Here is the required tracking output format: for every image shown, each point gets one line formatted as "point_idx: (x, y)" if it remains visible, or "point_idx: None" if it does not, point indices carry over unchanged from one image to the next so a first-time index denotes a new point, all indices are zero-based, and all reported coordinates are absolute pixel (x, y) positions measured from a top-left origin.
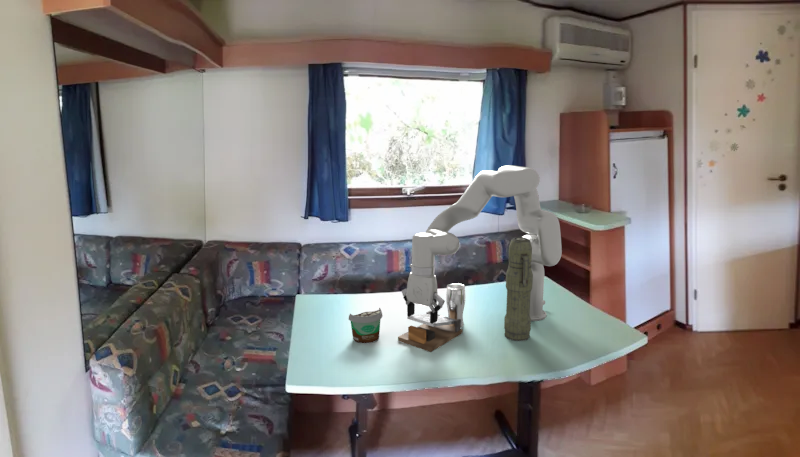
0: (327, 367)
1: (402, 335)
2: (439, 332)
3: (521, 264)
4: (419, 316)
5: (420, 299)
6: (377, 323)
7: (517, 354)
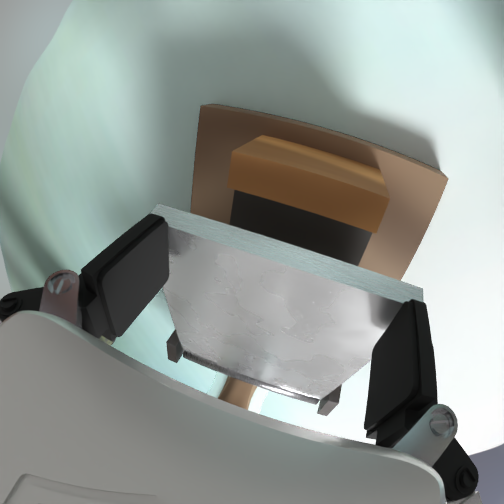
0: None
1: (428, 204)
2: None
3: None
4: (337, 343)
5: (80, 448)
6: None
7: (40, 229)
